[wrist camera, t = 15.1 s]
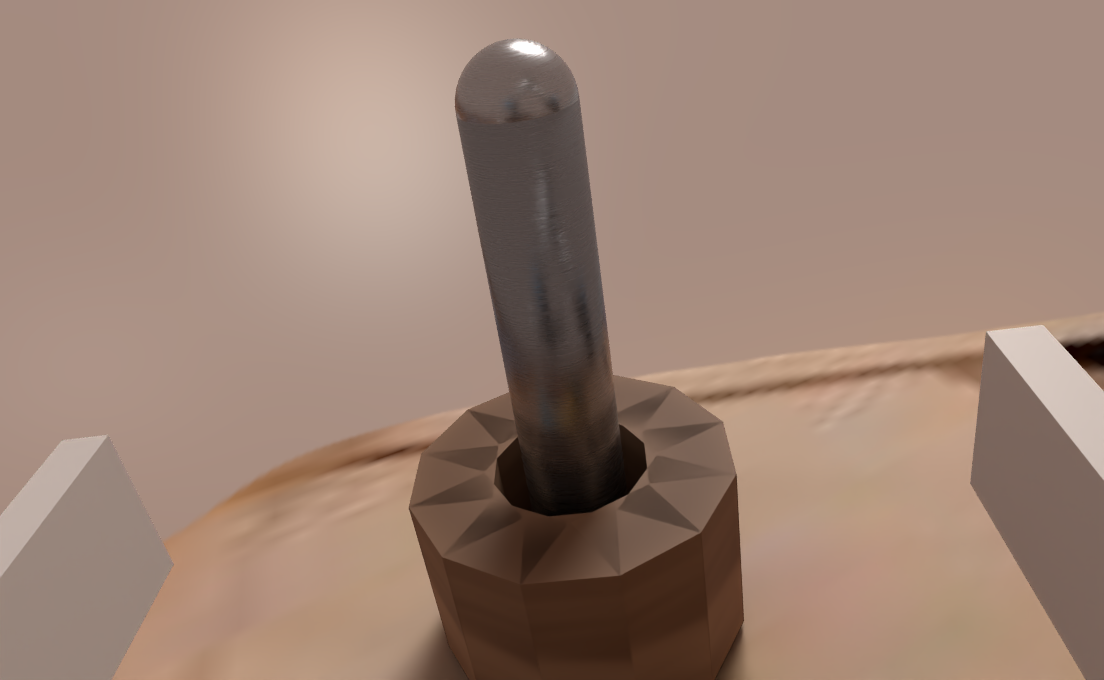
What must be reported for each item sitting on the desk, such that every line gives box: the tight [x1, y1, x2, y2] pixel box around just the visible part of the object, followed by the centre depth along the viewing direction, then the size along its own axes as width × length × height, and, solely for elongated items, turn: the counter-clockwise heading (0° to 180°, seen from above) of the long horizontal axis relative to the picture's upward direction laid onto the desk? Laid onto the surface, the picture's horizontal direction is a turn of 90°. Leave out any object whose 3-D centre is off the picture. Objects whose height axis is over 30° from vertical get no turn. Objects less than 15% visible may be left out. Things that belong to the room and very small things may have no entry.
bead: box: [409, 375, 744, 680], centre depth 28 cm, size 10×10×6 cm
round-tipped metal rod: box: [455, 39, 627, 517], centre depth 25 cm, size 3×3×18 cm
